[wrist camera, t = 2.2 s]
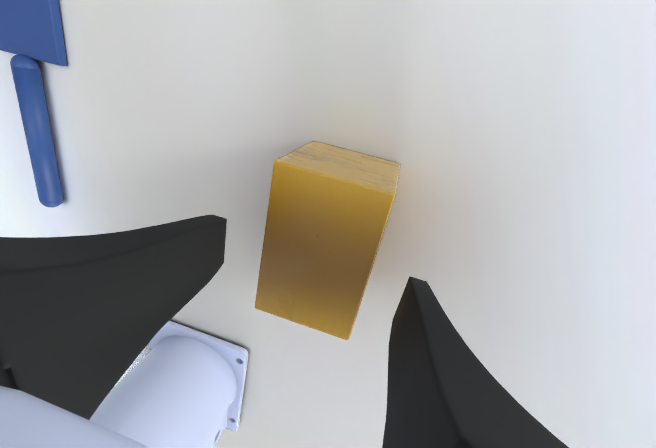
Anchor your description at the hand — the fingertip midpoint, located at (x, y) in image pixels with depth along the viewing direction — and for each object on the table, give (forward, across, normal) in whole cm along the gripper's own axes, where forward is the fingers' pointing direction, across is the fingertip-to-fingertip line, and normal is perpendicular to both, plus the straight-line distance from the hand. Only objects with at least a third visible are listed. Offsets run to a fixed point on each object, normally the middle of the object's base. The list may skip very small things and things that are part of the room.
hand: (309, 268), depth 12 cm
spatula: (+6, +19, -3) cm, 20 cm away
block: (+6, 0, 0) cm, 6 cm away
